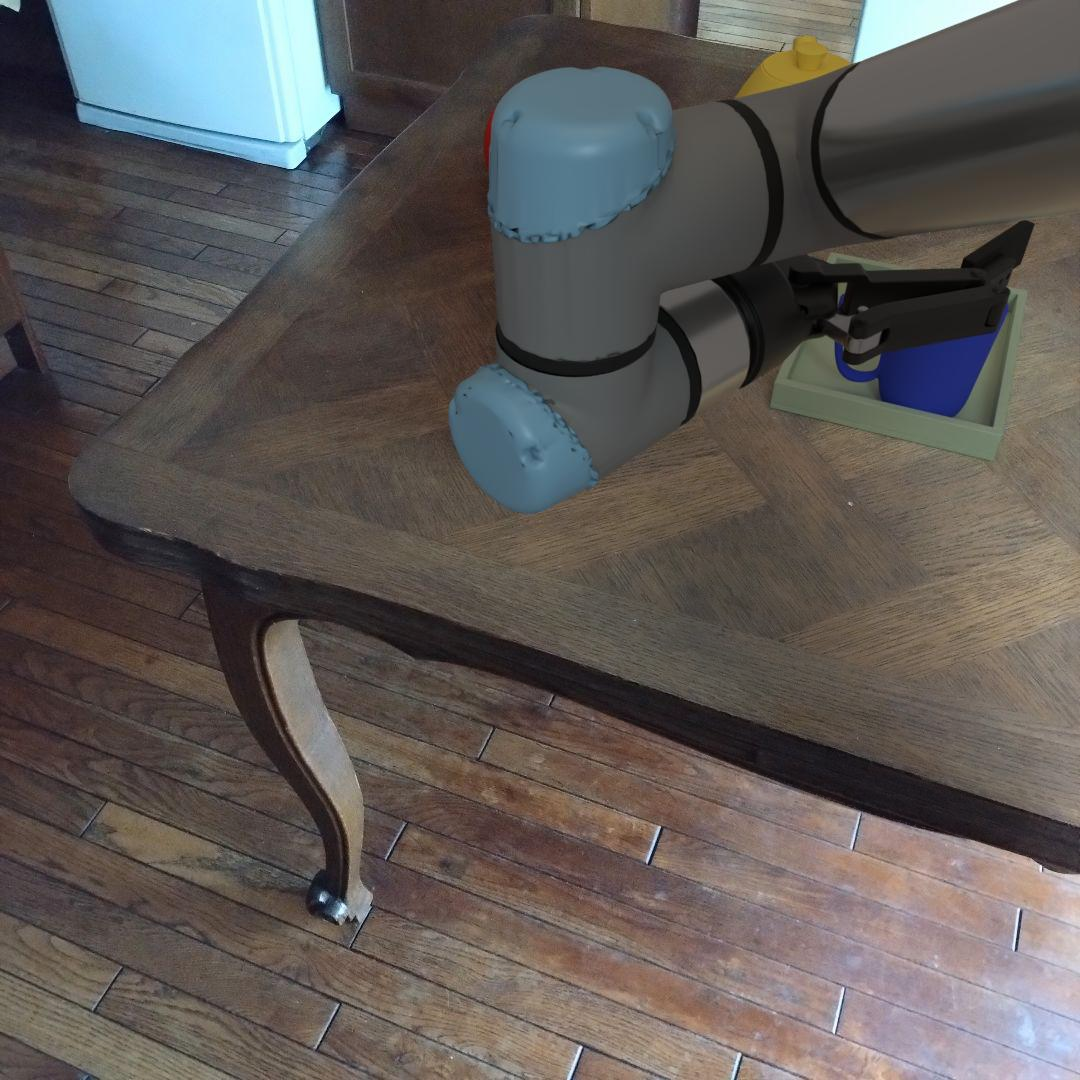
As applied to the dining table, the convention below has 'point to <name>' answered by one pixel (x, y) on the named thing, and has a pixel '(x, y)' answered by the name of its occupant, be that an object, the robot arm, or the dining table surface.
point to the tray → (829, 396)
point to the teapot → (792, 67)
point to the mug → (927, 372)
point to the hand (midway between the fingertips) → (925, 202)
